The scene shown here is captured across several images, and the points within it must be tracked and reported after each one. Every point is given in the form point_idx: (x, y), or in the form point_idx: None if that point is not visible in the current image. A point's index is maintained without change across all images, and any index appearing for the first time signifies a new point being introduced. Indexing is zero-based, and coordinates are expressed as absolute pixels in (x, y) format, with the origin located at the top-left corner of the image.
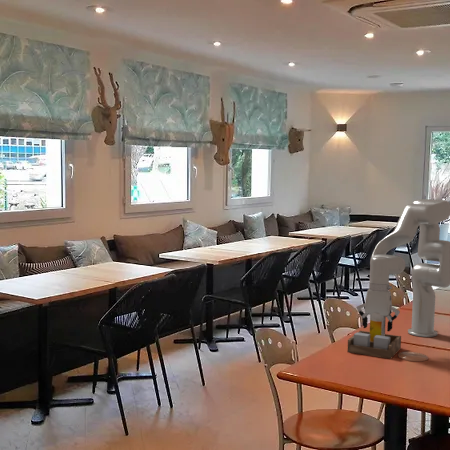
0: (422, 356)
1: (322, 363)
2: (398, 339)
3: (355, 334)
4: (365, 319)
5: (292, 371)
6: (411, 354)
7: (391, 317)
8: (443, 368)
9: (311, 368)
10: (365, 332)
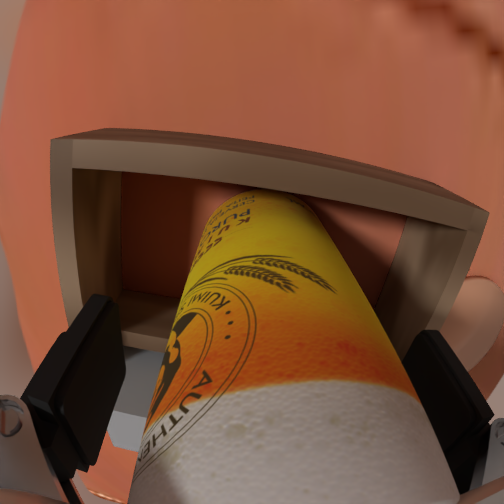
0: (486, 332)
1: (118, 468)
2: (447, 306)
3: (122, 446)
4: (93, 462)
5: (100, 491)
6: (454, 328)
7: (500, 468)
8: (487, 394)
9: (119, 485)
10: (113, 169)
